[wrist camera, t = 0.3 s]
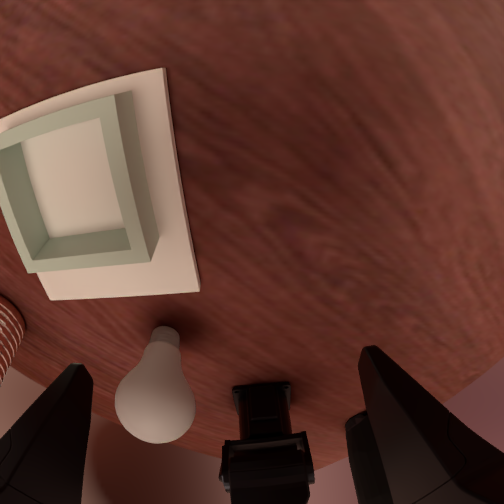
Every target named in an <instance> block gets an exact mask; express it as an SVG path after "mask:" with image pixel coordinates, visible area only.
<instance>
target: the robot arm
mask: <svg viewBox="0 0 504 504" xmlns="http://www.w3.org/2000/svg"><path fill="white" fill-rule="evenodd" d="M358 370H359V375H360V380H361V385H362V390H363V395H364V400H365V405H366V410H367V413H368V417H369V420H370V423H371V426H372V430H373V433H374V436H375V439H376V443H377V446H378V449H379V453H380V456H381V459H382V463H383V466H384V470H385V473H386V477H387V480H388V484H389V488H390V491H391V495H392V499H393V503H394V504H504V453H503V452H501V451H500V450H499V449H497V448H496V447H494V446H493V445H491V444H490V443H489V442H487V441H486V440H484V439H483V438H482V437H480V436H479V435H477V434H476V433H475V432H473V431H472V430H471V429H470V428H468V427H467V426H466V425H465V424H464V423H462V422H461V421H460V420H459V419H458V418H457V417H456V416H454V415H453V414H452V413H451V412H450V413H449V410H448V409H447V408H445V407H444V406H443V405H442V404H441V403H440V402H439V401H438V400H437V399H436V398H435V397H433V396H432V395H431V394H430V393H429V392H428V391H427V390H426V389H425V388H423V387H422V386H421V385H420V384H419V383H418V382H417V381H416V380H414V379H413V378H412V377H411V376H410V375H409V374H408V373H407V372H406V371H404V370H403V369H402V368H401V367H400V366H399V365H398V364H397V363H395V362H394V361H393V360H392V359H391V358H390V357H389V356H388V355H387V354H385V353H384V352H383V351H382V350H381V349H380V348H379V347H377V346H376V345H371V346H366V347H364V348H363V349H362V352H361V355H360V359H359V362H358ZM232 394H233V398H234V402H235V406H236V410H237V414H238V415H239V427H240V440H232V441H230V440H225V445H224V446H222V463H221V468H220V472H219V480H220V481H221V482H223V484H224V487H225V489H226V492H227V493H230V496H231V504H307V503H308V500H309V497H310V491H309V485H310V484H314V483H315V478H314V469H313V462H312V457H311V453H310V448H309V444H308V439H307V435H306V431H302V432H301V433H294V434H292V429H291V422H290V416H289V410H290V395H291V384H290V383H289V382H283V383H274V384H265V385H254V386H242V387H234V388H232ZM92 395H93V379H92V377H91V375H90V374H89V372H88V371H87V369H86V368H85V366H84V365H83V364H81V363H71V364H70V365H69V366H68V367H67V368H66V369H65V370H64V371H63V372H62V373H61V374H60V375H59V376H58V377H57V378H56V379H55V380H54V381H53V383H52V384H51V385H50V386H49V387H48V388H47V389H46V390H45V391H44V392H43V393H42V394H41V395H40V396H39V397H38V399H37V400H35V402H34V403H33V404H32V405H31V406H30V407H29V408H28V409H27V410H26V411H25V412H24V413H23V415H22V416H21V417H20V418H19V419H18V420H17V421H16V422H15V423H14V424H13V426H12V427H11V429H9V430H8V431H7V432H6V433H5V434H4V435H3V437H2V438H1V439H0V504H81V497H82V486H83V475H84V465H85V458H86V450H87V442H88V436H89V430H90V422H91V409H92Z"/></svg>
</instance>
